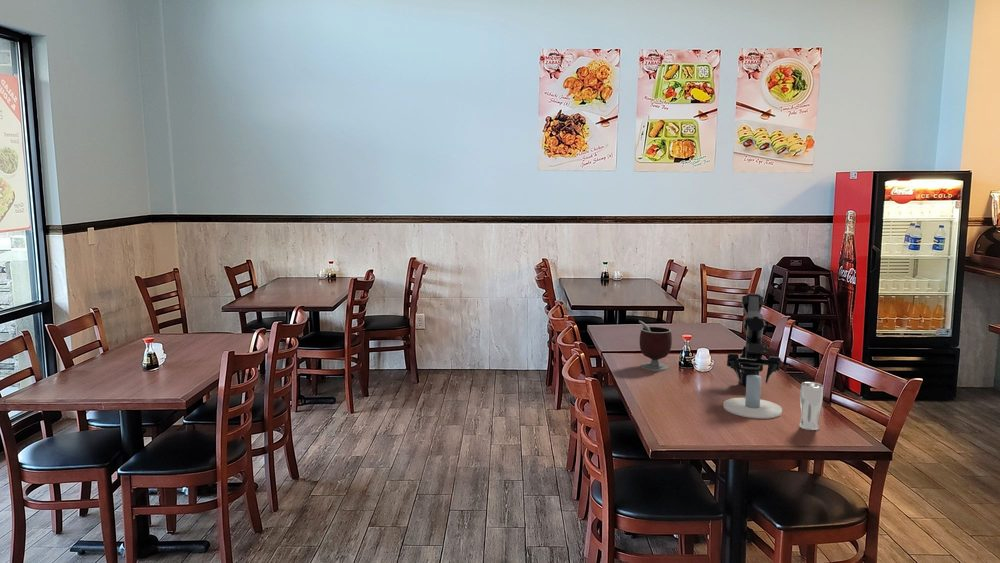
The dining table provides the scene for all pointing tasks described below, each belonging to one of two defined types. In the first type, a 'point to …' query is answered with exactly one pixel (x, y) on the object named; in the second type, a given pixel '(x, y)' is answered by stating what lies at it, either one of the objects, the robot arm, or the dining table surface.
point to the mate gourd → (655, 346)
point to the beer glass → (810, 405)
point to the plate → (752, 409)
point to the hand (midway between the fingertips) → (753, 381)
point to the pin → (753, 391)
